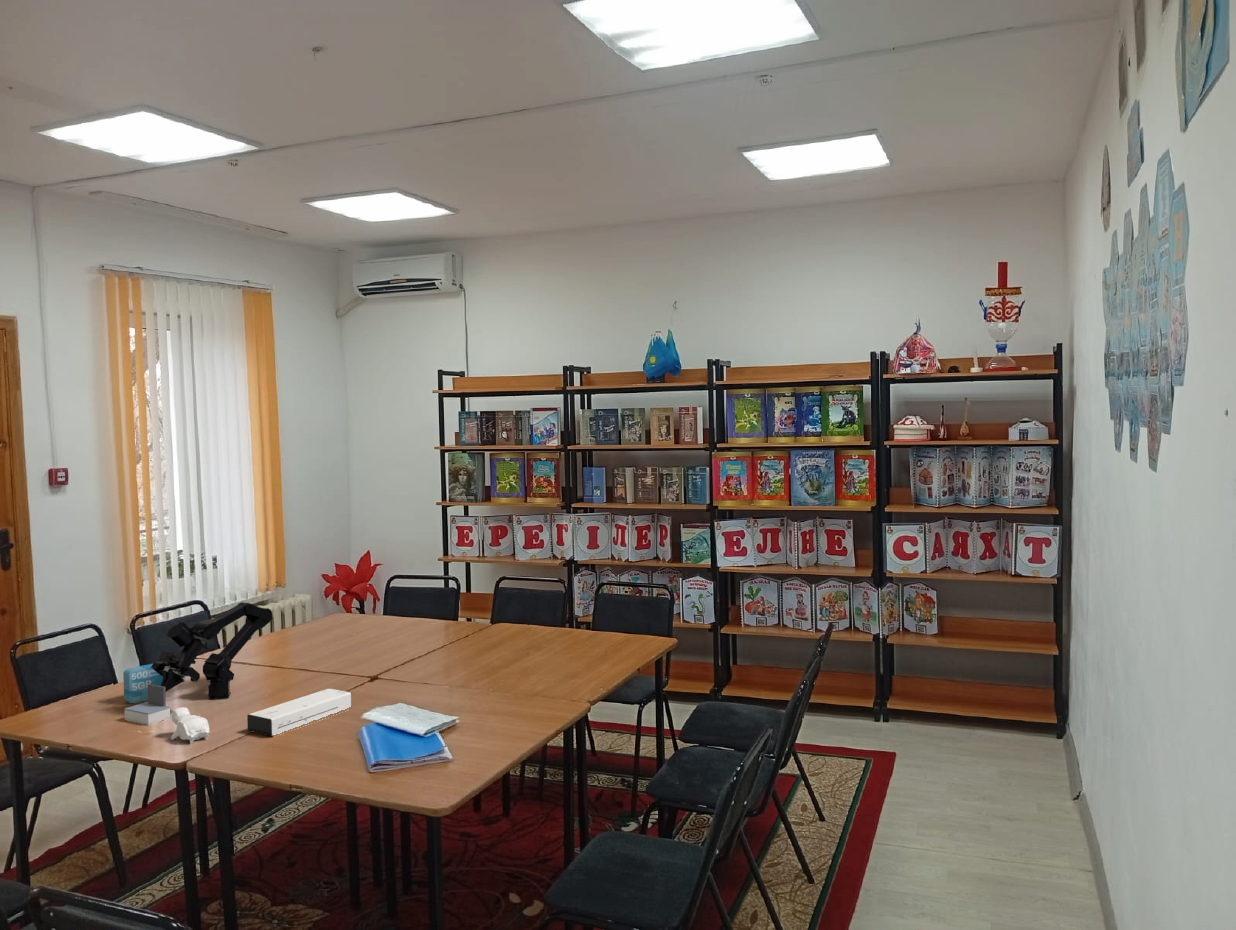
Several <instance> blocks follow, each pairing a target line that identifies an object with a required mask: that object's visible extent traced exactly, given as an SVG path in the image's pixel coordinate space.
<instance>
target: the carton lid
mask: <svg viewBox="0 0 1236 930" xmlns="http://www.w3.org/2000/svg"><path fill="white" fill-rule="evenodd" d="M166 693H167V692H166V687H163V686H158V685H152V684H148V701H144V702H141V703H139V704H138V703H137V704H135V705H132V706H129V707H125V708H124V711H125V710H127V711H132V712H137V713H142V714H146V715H150V714H153V713H156V712H159V711H163V710H166V709H169V708H170V709H171V707H170V706H168V705H167V694H166Z"/></svg>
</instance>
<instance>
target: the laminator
mask: <svg viewBox="0 0 1236 930" xmlns="http://www.w3.org/2000/svg"><path fill="white" fill-rule="evenodd" d="M352 702H353V701H352V692H351V691H346V690H340V689H335V688H334V689H333V688H330V687H329V688H325V689H323V690H318V691H317V692H314V693H311V694H307V695H304V696H301V697H298V698H295V699H292V700H288V701H285V702H283V703H278V704H277V705H273V706H270V707H267V708H264V709H261V710H258V711H254V712H252V713H249V714H247V716H246V717H247V720H246V721H247V731H248V732H249V731H254V732H257V733H256V734H258V733H261V734H260V735H263V734H267V735H271V736H272V735H276V734H280V733H282V732H284V731H288V730H290V729H293V728H295V727H299V726H301V725H303V724H307V723H309V722H311V721H313V720H318V719H320V718H322V717H326V716H328V715H330V714H334V713H337V712H339V711H341V710H345V709H347V708H349V707H351V708H352V704H353V703H352ZM254 732H253V733H254ZM267 735H266V736H267ZM280 735H281V734H280ZM271 736H270V737H271Z"/></svg>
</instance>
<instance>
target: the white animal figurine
mask: <svg viewBox="0 0 1236 930" xmlns="http://www.w3.org/2000/svg"><path fill="white" fill-rule="evenodd" d="M171 721H172V722H173V723H174V725H175V726H176V729H175V731H174V732H173V733H172V735H171V736H170V739H171V740H172V741H174V740H176V739H178V738H180V739H181V740H183V741H184V740H185V741H186V740H188V741H189V745H193V744H194V741H197V740H200V739H203V738H204V739H207V740H209V738H210V732H211V731H210V725H209V721H208V720H207V718H205V717H202V716H199V715H193V714H191V713H190V710H189V708H187V707H183V706H182V707H178V708H175V709H173V711H172V713H171ZM192 743H193V744H192Z"/></svg>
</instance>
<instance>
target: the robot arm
mask: <svg viewBox="0 0 1236 930" xmlns="http://www.w3.org/2000/svg"><path fill="white" fill-rule="evenodd" d="M243 617H245V620H244V621H245V622H244V624H243V626H242V627H240V629H239V630H238V631H237V632H236V634H235V635H234V636H233V637H232V638H231V640H230V641H229V642H228V643H227V644H226V645H225V646H224V648H223V649H222V650H221V651H220V652H219V653H211V654H210V655H209V656H208V658H207V659H206V660H204V663H203V665H202V674H203V675H204V677H205V679H206V681H209V684H208V686H207V687H208V688H207V691H208V699H209V700H220V699H222V700H223V699H229V697H230V696H231V694H232V692H231V689H230V688H231V685H230V684H231V683H230V682H231V681H233V680H234V678H235V673H234V672H233V671H232V670H231V667H232V662H233V659H234V658H235V657H236V656H237V655H238V653H239V652H240V651H241V650H242V648H244V647H245V645H246V643H247V642H249V640H250V639H251V638H252V636H253V635H254V634H255V633H256V632H257V631H259V630H261V629H263V628H266V626H267V625H269V623H270V622H271V621H272V620H273V612H272V609H270V608H266V607H260V606H256V605H254V604H252V603H251V602H242V601H241V602H239V603H237V605H235V606H233V607H231V608H230V609H227V610H226V611H224V612H222V613H221V614H219V615H217V616H215V617H214V618H210V619H205V620H204V619H203V620H201V621H198V622H196V623H195V624H194V625H193V626H191V627H189V626H188V625H187V624H186V623H185V622H184V621H179V623H178V624H175V625H173V626H172V627H171V628H169V630H168V631H167V635H166V636H167V638H169V639H170V640H171V641H172V642H173V643H174V644H175V645H176V646H178V647H181V648H180V650H179V651H178V650H173V652H170V651H163V650H161V651H160V653H159V655H158V659H157V660H158V661H154V662H153V663H152V664H153V665H152V666H151V668H152V669H153V670H154V671H156V672H157V673H158V674H159V675H161V676H163V680H162V684H161V686H163V687H166V693H167V692H169V691H170V690H172V689H174V687H177V686H178V685H180V684H182V683H185V682H186V680H185V678H186V677H190V682H192V683H197V682H198V681H199V680H200V679H201V673H199V672H198V670H196V668H195V669H194V668H193V666H192V665H195V664H196V663H197V661H196V658H197V656H198V655H199V654H200V652H201V651H203V650H204V651H208V650H209V647H208V646H209V645H208V642H206V641H202V640H207V641H208V640H209V641H210V640H213V639H214V638H215V637H217V636H218V635H219V634H220V632H221V630H222V629H223V628H225V627H227V626H228V625H230V624H232V623H234V622H236V621H238V620H239V619H241V618H243ZM162 661H163V662H162Z"/></svg>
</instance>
